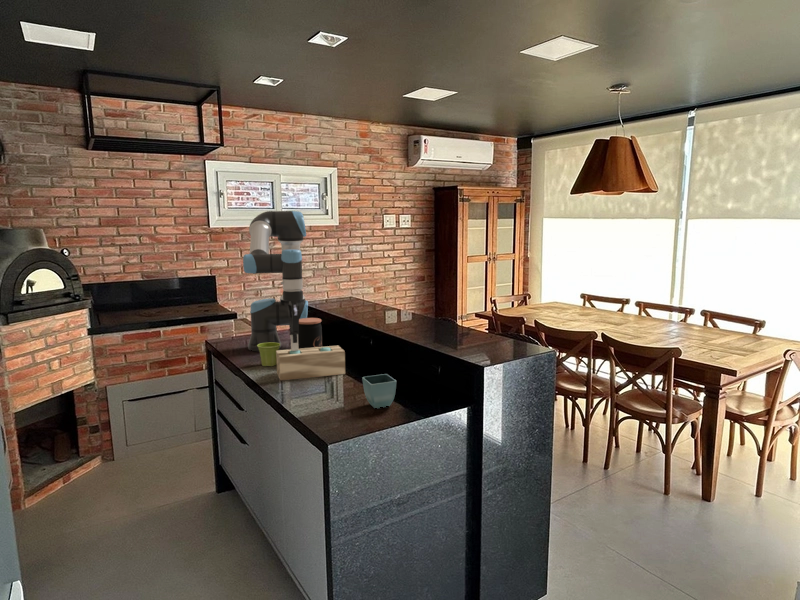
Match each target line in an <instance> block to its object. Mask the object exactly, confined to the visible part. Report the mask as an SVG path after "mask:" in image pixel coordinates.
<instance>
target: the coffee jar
mask: <svg viewBox="0 0 800 600" xmlns="http://www.w3.org/2000/svg"><path fill="white" fill-rule="evenodd" d="M321 322H322V319H321V318H318V317H307V318H302V319H299V334H298V346H299V349H302V348H314V347H323V330H322V329H323V328H322V324H321Z"/></svg>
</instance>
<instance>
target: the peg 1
mask: <svg viewBox="0 0 800 600" xmlns="http://www.w3.org/2000/svg"><path fill="white" fill-rule="evenodd" d="M290 354H300V350H299V351H290Z"/></svg>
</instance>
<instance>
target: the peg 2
mask: <svg viewBox="0 0 800 600" xmlns="http://www.w3.org/2000/svg"><path fill="white" fill-rule="evenodd" d="M322 347H323V348H320V352H323V351H331V348H329V347H326V346H322Z"/></svg>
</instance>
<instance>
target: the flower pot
mask: <svg viewBox="0 0 800 600" xmlns="http://www.w3.org/2000/svg"><path fill="white" fill-rule="evenodd" d="M361 378H362V379H361V381H362V386H363V392H364V395H365V398H366V400H367V402H368V403H369V404H370V406H372V407H373V409H375V408H377V409H381V408H380V407H383V408H387V407H386V406H389V407H390V406H391V405H392V403H393V401H394V399H395V395H396V389H397V380H396V379H394V378H393V377H392V376H390V375H389V374H388V373H384V374H382V373H381V374H376V375H367V376H363V377H361Z"/></svg>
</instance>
